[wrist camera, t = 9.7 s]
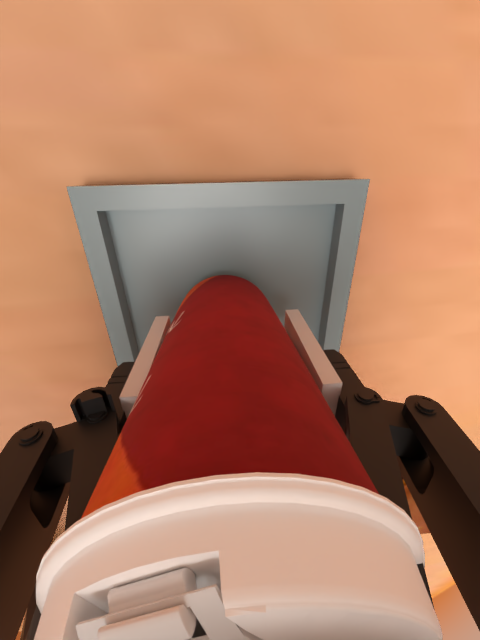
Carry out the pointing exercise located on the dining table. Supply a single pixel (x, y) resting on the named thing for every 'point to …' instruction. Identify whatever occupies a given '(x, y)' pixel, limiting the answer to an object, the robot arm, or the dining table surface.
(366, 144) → the dining table surface
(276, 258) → the tray
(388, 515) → the coffee cup
